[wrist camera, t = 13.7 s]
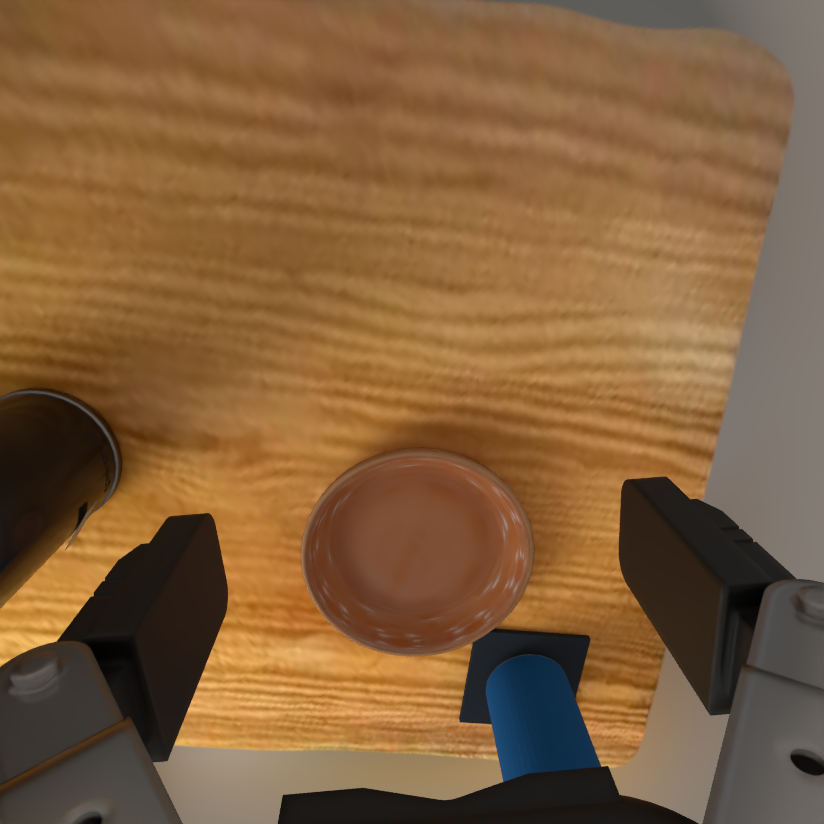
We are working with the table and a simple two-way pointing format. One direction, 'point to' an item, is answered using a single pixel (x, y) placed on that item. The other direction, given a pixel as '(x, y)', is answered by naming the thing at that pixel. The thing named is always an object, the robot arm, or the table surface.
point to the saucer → (417, 552)
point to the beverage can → (536, 718)
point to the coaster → (512, 644)
